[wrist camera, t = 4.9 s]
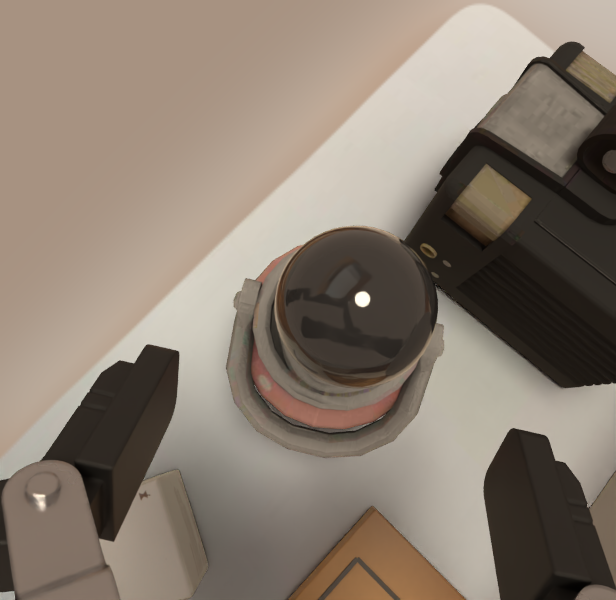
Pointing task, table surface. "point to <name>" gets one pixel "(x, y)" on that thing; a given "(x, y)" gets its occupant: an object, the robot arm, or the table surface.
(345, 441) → the beverage can
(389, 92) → the table surface
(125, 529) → the small box
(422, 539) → the table surface
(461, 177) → the camera
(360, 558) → the board
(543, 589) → the robot arm
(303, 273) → the ball
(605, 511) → the alarm clock
